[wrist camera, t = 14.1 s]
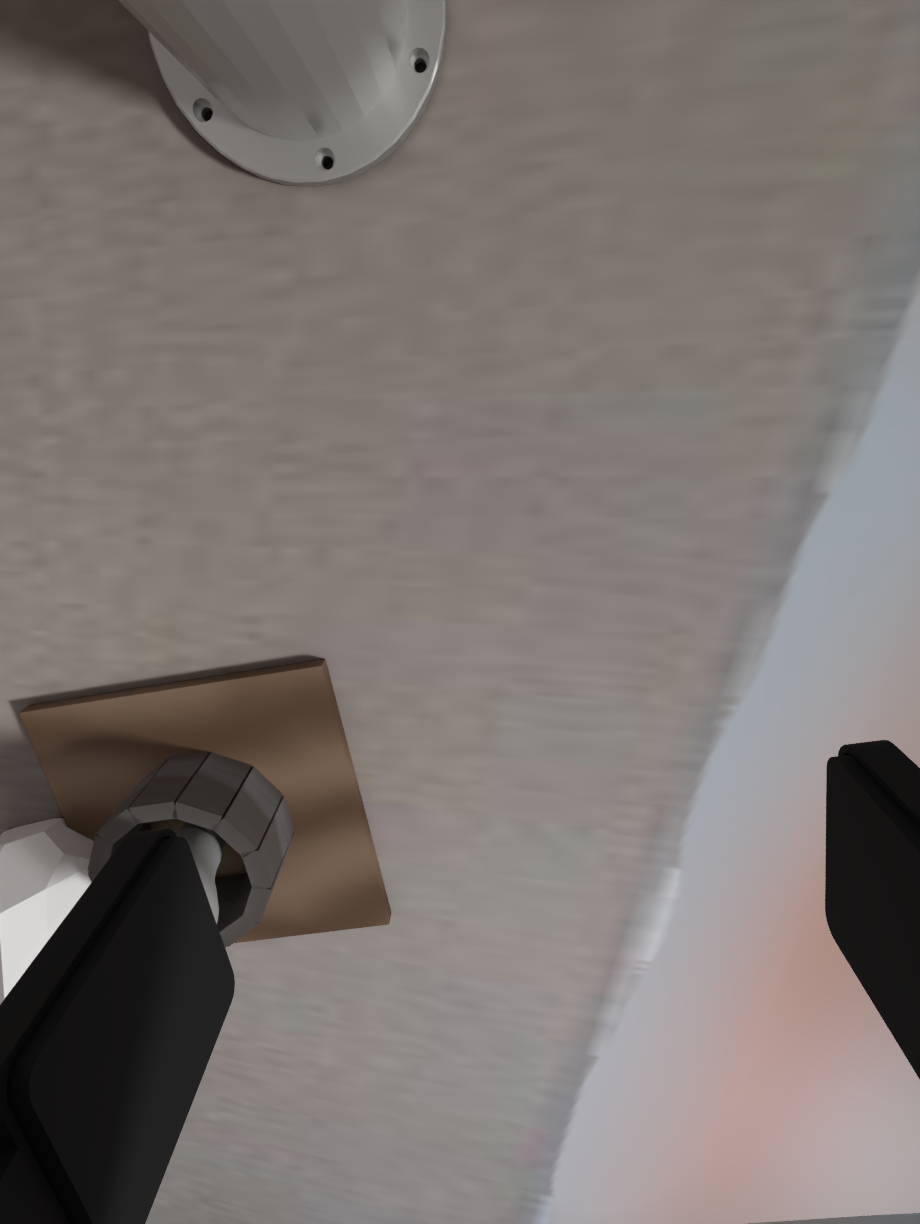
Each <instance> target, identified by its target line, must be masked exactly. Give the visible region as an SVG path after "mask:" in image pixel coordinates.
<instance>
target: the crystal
mask: <svg viewBox="0 0 920 1224" xmlns="http://www.w3.org/2000/svg"><path fill="white" fill-rule="evenodd" d="M93 843H94V841H93V840H91V839H89V838H87V837H85V836H83V835H81V834H79V833H77V832H75V831H73V830H71V829H70V828H68V827H67V826H66V824H65V821H64V819H63V818H54V819H50V820H45V821H41V822H36V823H32V824H27V825H23V826H19V827H16V828H13V829H9V830H6V831H5V832H3V833H2V834H1V835H0V1004H1V1003H2V1002H3V1000H4V999H5V998H6V996H7V995H8V994H9V992H10V991H11V990H12V988H13V987H14V986H15V984H16V983H17V982H18V980H19V979H20V978H21V976H22V975H23V974H24V972H25V971H26V970H27V968H28V967H29V966H30V964H31V963H32V962H33V960H34V959H35V958H36V956H37V955H38V954H39V952H40V951H41V950H42V948H43V947H44V946H45V944H46V943H47V941H48V940H49V939H50V937H51V936H52V935H53V933H54V932H55V931H56V929H57V928H58V927H59V925H60V924H61V923H62V921H63V920H64V919H65V917H66V916H67V915H68V913H69V912H70V911H71V909H72V908H73V907H74V905H75V904H76V903H77V901H78V900H79V899H80V897H81V896H82V895H83V893H84V892H85V891H86V889H87V888H88V887H89V885H90V884H91V880H90V878H89V875H88V872H89V871H87V870H88V866H89V861H90V857H91V852H92V848H93ZM86 867H87V868H86ZM84 868H85V869H84ZM63 879H64V880H63ZM61 880H62V881H61ZM59 881H60V882H59ZM42 890H43V891H42ZM40 891H41V892H40ZM29 897H30V898H29Z"/></svg>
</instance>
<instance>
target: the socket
mask: <svg viewBox="0 0 920 1224" xmlns="http://www.w3.org/2000/svg"><path fill="white" fill-rule="evenodd" d="M19 715H20V717H21V719H22V722H23V724H24V727H25V729H26V731H27V734H28V736H29V738H30V741H31V743H32V746H33V748H34V750H35V753H36V755H37V757H38V760H39V762H40V765H41V767H42V769H43V772H44V774H45V776H46V779H47V781H48V783H49V786H50V788H51V791H52V793H53V795H54V798H55V800H56V802H57V805H58V807H59V810H60V812H61V814H62V817H63V819H64V821H65V824H66V826H67V827H68V828H70V829H71V830H73V831H75V832H77V833H79V834H81V835H83V836H85V837H87V838H89V839H91V840H93V841H94V843H93V848H92V852H91V857H90V861H89V866H88V870H87V871H89V872H88V875H89V878H90V880H91V883H92V881H93V880H94V879H95V877H96V876H97V875H98V873H99V872H100V871H101V869H102V868H103V867H104V865H105V864H106V863H107V861H108V860H109V859H110V857H111V856H112V855H113V853H114V852H115V851H116V849H117V848H118V847H119V845H120V844H121V843H122V841H123V840H124V839H125V838H126V837H127V836H128V835H129V834H131V833H135V832H143V831H151V830H159V829H167V828H168V829H171V830H173V831H174V832H177V831H178V830H180V829H181V828H182V826H184V824H185V823H186V822H188V823H191V824H195V825H198V826H201V827H204V828H207V829H211V830H214V831H215V832H216V833H217V834H218V835H219V836H220V837H221V838H222V839H224V840H225V841H226V843H225V845H224V847H223V849H222V855H221V861H220V864H219V866H218V868H217V871H216V875H215V885H216V889H217V897H218V905H219V915H218V922H217V927H218V930H219V932H220V935H221V938H222V941H223V944H224V947H225V948H226V946H228V947H229V946H230V945H231V944H233V943H238V942H246V941H255V940H263V939H271V938H279V937H288V936H296V935H304V934H312V933H321V932H329V931H337V930H345V929H354V928H362V927H370V926H378V925H387V924H389V923H390V917H391V910H390V906H389V902H388V898H387V894H386V891H385V887H384V883H383V879H382V875H381V871H380V868H379V864H378V860H377V856H376V852H375V848H374V844H373V841H372V837H371V833H370V829H369V825H368V821H367V818H366V814H365V810H364V806H363V802H362V798H361V794H360V791H359V787H358V783H357V779H356V775H355V771H354V768H353V764H352V760H351V756H350V752H349V748H348V744H347V741H346V737H345V733H344V729H343V725H342V721H341V718H340V714H339V710H338V706H337V702H336V698H335V694H334V691H333V687H332V683H331V679H330V675H329V671H328V668H327V664H326V660H325V659H322V660H315V661H309V662H302V663H296V664H290V665H283V666H277V667H270V668H264V669H258V670H251V671H245V672H238V673H232V674H226V675H219V676H213V677H206V678H200V679H194V680H187V681H181V682H174V683H168V684H162V685H155V686H149V687H142V688H136V689H130V690H123V691H117V692H110V693H104V694H97V695H91V696H85V697H78V698H72V699H65V700H59V701H53V702H46V703H40V704H33V705H29V706H28V707H26V708H25V709H23V710H22V711H21V712H19ZM86 868H87V867H86ZM84 869H85V868H84Z"/></svg>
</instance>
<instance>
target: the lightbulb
mask: <svg viewBox="0 0 920 1224" xmlns="http://www.w3.org/2000/svg"><path fill="white" fill-rule="evenodd" d="M175 833H176V835H177V837H184V838H185V839H186V840H187V842H188V844H189V846H190V849H191V852H192V855H193V858H194V860H195V863H196V866H197V869H198V872H199V875H200V878H201V881H202V884H203V886H204V889H205V892H206V895H207V898H208V901H209V904H210V907H211V909H212V912H213V915H214V918H215V921H216V924H217V922H218V915H219V905H218V897H217V889H216V885H215V875H216V871H217V868H218V866H219V864H220V861H221V855H222V849H223V847H224V845H225V843H226V841H225V840H224V839H222V838H221V837H220V836H219V835H218V834H217V833H216V832H215V831H214V830H211V829H207V828H204V827H201V826H198V825H195V824H191V823H188V822H186V823H185V824H184V826H182V828H181V829H180V830H178V831H177V832H175Z"/></svg>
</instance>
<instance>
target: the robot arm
mask: <svg viewBox="0 0 920 1224" xmlns="http://www.w3.org/2000/svg"><path fill="white" fill-rule="evenodd" d="M118 1H119V2H120V3H121V4H122V5H123V6H124V7H125V8H126V9H127V10H128V11H129V12H130V13H131V14H132V15H133V16H134V17H135V18H136V19H137V20H138V21H139V22H140V23H141V24H142V25H143V26H144V27H145V28H146V29H147V30H148V36H149V41H150V45H151V48H152V51H153V54H154V57H155V59H156V62H157V65H158V68H159V71H160V74H161V76H162V78H163V80H164V82H165V84H166V86H167V88H168V90H169V91H170V93H171V95H172V97H173V99H174V101H175V103H176V105H177V106H178V108H179V109H180V110H181V112H182V113H183V114H184V115H185V117H186V118H187V119H188V121H189V122H190V123H191V125H192V126H193V127H194V129H195V130H196V131H197V132H198V133H199V134H200V135H201V136H202V137H203V138H204V139H205V140H206V141H207V142H208V143H209V144H211V145H212V146H213V147H214V148H215V149H216V150H217V151H218V152H219V153H221V154H222V155H223V156H225V157H226V158H227V159H229V160H230V161H231V162H233V163H234V164H235V165H237V166H239V167H241V168H242V169H244V170H246V171H248V172H250V173H252V174H254V175H256V176H258V177H260V178H262V179H266V180H269V181H273V182H276V183H280V184H283V185H287V186H301V187H319V186H325V185H331V184H337V183H341V182H344V181H346V180H349V179H351V178H354V177H356V176H359V175H361V174H364V173H366V172H367V171H369V170H370V169H372V168H373V167H374V166H376V165H377V164H379V163H380V162H382V161H383V160H385V159H386V158H388V157H389V156H390V155H391V153H392V152H393V151H394V150H395V149H396V148H397V147H398V146H399V145H400V144H401V143H402V142H403V141H404V140H405V139H406V138H407V137H408V135H409V134H410V132H411V131H412V129H413V128H414V126H415V125H416V123H417V122H418V120H419V119H420V117H421V116H422V114H423V113H424V111H425V108H426V106H427V104H428V101H429V99H430V97H431V95H432V92H433V90H434V88H435V85H436V82H437V78H438V74H439V70H440V66H441V62H442V58H443V54H444V46H445V34H446V22H447V14H446V0H118ZM420 62H421V63H424V64H425V65H426V70H425V71H424V72H422V73H418V72H416V71H415V67H416V65H417V64H418V63H420ZM208 111H213V115H212V117H211V119H210V120H209V121H206V120H205V115H206V113H207V112H208ZM328 158H329V159H332V160H333V167H332V168H331V169H329V170H328V169H325V168H324V162H325V160H326V159H328ZM826 800H827V801H826V804H827V805H826V893H825V896H826V897H825V910H826V917H827V922H828V926H829V929H830V931H831V934H832V936H833V938H834V939H835V941H836V943H837V945H838V946H839V948H840V950H841V951H842V953H843V955H844V956H845V958H846V959H847V961H848V963H849V964H850V966H851V968H852V969H853V971H854V973H855V974H856V976H857V977H858V979H859V981H860V982H861V984H862V986H863V987H864V989H865V990H866V992H867V994H868V995H869V997H870V999H871V1000H872V1002H873V1004H874V1005H875V1007H876V1009H877V1010H878V1012H879V1013H880V1015H881V1017H882V1018H883V1020H884V1022H885V1023H886V1025H887V1027H888V1028H889V1030H890V1031H891V1033H892V1035H893V1036H894V1038H895V1039H896V1041H897V1043H898V1044H899V1046H900V1048H901V1049H902V1051H903V1053H904V1054H905V1056H906V1057H907V1059H908V1061H909V1062H910V1064H911V1066H912V1067H913V1069H914V1070H915V1072H916V1074H917V1076H918V1077H919V1079H920V768H919V767H918V766H917V765H916V764H915V763H913V762H912V761H911V760H910V759H909V758H908V757H907V756H906V755H905V754H904V753H903V752H902V751H901V750H899V749H898V748H897V747H896V746H895V745H894V744H893V743H891V742H890V741H887V740H880V741H872V742H865V743H856V744H849V745H844V746H842V747H841V748H840V750H839V754H838V757H831V758H830V759H829V760H828V762H827V794H826ZM234 985H235V981H234V974H233V970H232V967H231V964H230V961H229V958H228V956H227V953H226V950H225V947H224V944H223V941H222V938H221V935H220V932H219V930H218V927H217V924H216V921H215V918H214V915H213V912H212V909H211V907H210V904H209V901H208V898H207V895H206V892H205V889H204V886H203V884H202V881H201V878H200V875H199V872H198V869H197V866H196V863H195V860H194V858H193V855H192V852H191V849H190V846H189V844H188V842H187V840H186V839H185V838H184V837H177V835H176V833H175V832H174V831H173V830H171V829H168V828H167V829H159V830H151V831H143V832H135V833H131V834H129V835H128V836H127V837H126V838H125V839H124V840H123V841H122V843H121V844H120V845H119V847H118V848H117V849H116V851H115V852H114V853H113V855H112V856H111V857H110V859H109V860H108V861H107V863H106V864H105V865H104V867H103V868H102V869H101V871H100V872H99V873H98V875H97V876H96V877H95V879H94V880H93V881H92V883H91V884H90V885H89V887H88V888H87V889H86V891H85V892H84V893H83V895H82V896H81V897H80V899H79V900H78V901H77V903H76V904H75V905H74V907H73V908H72V909H71V911H70V912H69V913H68V915H67V916H66V917H65V919H64V920H63V921H62V923H61V924H60V925H59V927H58V928H57V929H56V931H55V932H54V933H53V935H52V936H51V937H50V939H49V940H48V941H47V943H46V944H45V946H44V947H43V948H42V950H41V951H40V952H39V954H38V955H37V956H36V958H35V959H34V960H33V962H32V963H31V964H30V966H29V967H28V968H27V970H26V971H25V972H24V974H23V975H22V976H21V978H20V979H19V980H18V982H17V983H16V984H15V986H14V987H13V988H12V990H11V991H10V992H9V994H8V995H7V996H6V998H5V999H4V1000H3V1002H2V1003H1V1004H0V1224H145V1222H146V1220H147V1217H148V1215H149V1212H150V1210H151V1207H152V1204H153V1202H154V1199H155V1197H156V1194H157V1192H158V1189H159V1187H160V1184H161V1181H162V1179H163V1176H164V1174H165V1171H166V1169H167V1166H168V1163H169V1161H170V1158H171V1156H172V1153H173V1151H174V1148H175V1145H176V1143H177V1140H178V1138H179V1135H180V1133H181V1130H182V1128H183V1125H184V1122H185V1120H186V1117H187V1115H188V1112H189V1110H190V1107H191V1104H192V1102H193V1099H194V1097H195V1094H196V1092H197V1089H198V1087H199V1084H200V1081H201V1079H202V1076H203V1074H204V1071H205V1069H206V1066H207V1063H208V1061H209V1058H210V1056H211V1053H212V1051H213V1048H214V1046H215V1043H216V1040H217V1038H218V1035H219V1033H220V1030H221V1028H222V1025H223V1022H224V1020H225V1017H226V1015H227V1012H228V1010H229V1007H230V1004H231V1002H232V999H233V994H234ZM749 1224H920V1213H914V1214H894V1215H893V1214H892V1215H874V1216H873V1215H872V1216H858V1217H841V1218H827V1219H811V1220H797V1221H796V1220H795V1221H781V1222H765V1223H749Z"/></svg>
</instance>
